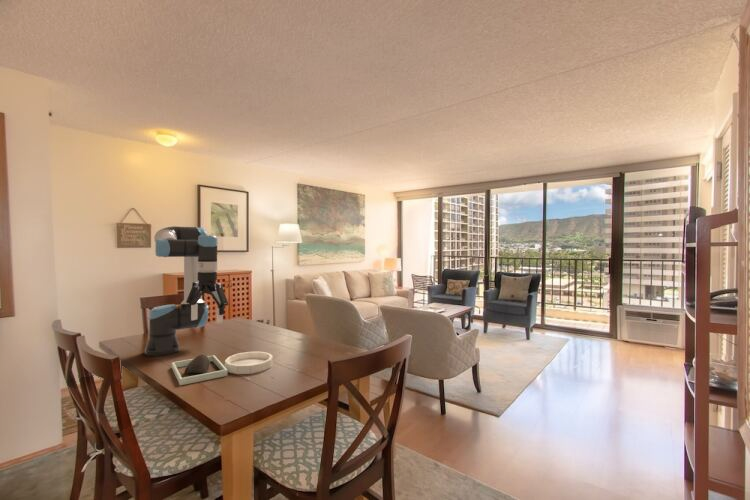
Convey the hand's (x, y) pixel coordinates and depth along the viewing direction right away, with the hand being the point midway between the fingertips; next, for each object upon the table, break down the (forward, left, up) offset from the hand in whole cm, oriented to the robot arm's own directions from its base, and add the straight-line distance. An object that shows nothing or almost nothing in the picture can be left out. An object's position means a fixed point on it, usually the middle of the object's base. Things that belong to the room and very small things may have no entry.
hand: (206, 321), depth 146 cm
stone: (-4, -2, -23) cm, 23 cm away
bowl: (+1, +18, -22) cm, 29 cm away
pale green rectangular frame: (-4, -2, -22) cm, 23 cm away
